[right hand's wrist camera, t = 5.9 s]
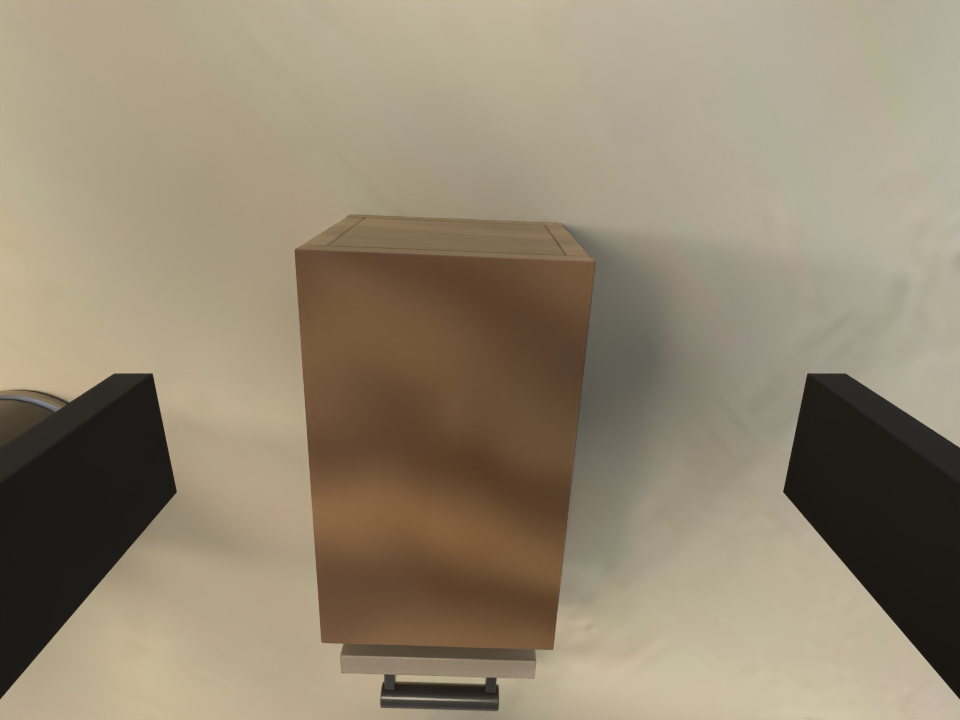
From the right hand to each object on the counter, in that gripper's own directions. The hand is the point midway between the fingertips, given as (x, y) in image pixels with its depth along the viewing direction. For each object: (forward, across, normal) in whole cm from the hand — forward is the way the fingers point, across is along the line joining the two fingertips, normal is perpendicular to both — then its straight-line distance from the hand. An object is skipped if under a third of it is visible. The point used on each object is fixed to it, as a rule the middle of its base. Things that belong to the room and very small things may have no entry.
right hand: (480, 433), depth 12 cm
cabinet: (+21, -2, -8) cm, 23 cm away
